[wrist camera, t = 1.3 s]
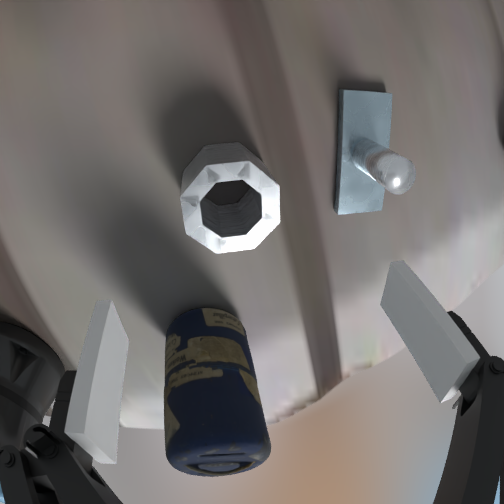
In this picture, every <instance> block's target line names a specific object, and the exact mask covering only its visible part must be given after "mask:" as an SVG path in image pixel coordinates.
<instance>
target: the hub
mask: <svg viewBox="0 0 504 504" xmlns="http://www.w3.org/2000/svg"><path fill="white" fill-rule="evenodd" d="M234 180H244V181H245V182H246V183H247V184H249V185H250V189H249V190H248V191H247V192H246V194H245V195H244V196H243V197H242V198H241V199H240V200H239V201H238V202H237V203H233V204H225V205H216V204H214V203H213V202H211V201H210V200H209V199H207V198H206V197H204V196H205V195H206V194H207V192H208V191H209V190H210V189H211V188H212V187H213V185H214V184H215V183H216V182H225V181H234ZM180 200H181V206H182V212H183V219H184V225H185V231H186V234H187V235H189V236H190V237H192V238H194V239H195V240H197V241H198V242H200V243H201V244H203V245H204V246H206V247H207V248H209V249H210V250H212V251H213V252H215V253H225V252H233V251H240V250H248V249H254V248H255V247H256V246H257V245H258V244H259V243H260V242H261V241H262V240H263V239H264V238H265V237H266V236H267V235H268V234H269V233H270V232H271V231H272V230H273V229H274V228H275V227H276V226H277V225H278V224H279V223H280V191H279V185H278V183H277V182H276V180H275V179H274V177H273V176H272V174H271V173H270V171H269V170H268V168H267V167H266V165H265V164H264V163H263V162H262V161H261V160H260V159H259V158H258V157H256V156H255V155H254V154H253V153H252V152H250V151H249V150H248V149H247V148H245V147H244V146H243V145H242V144H241V143H239V142H233V143H223V144H213V145H205V146H204V147H203V148H202V149H201V150H200V151H199V153H198V154H197V155H196V156H195V157H194V159H193V160H192V161H191V162H190V164H189V165H188V166H187V167H186V168H185V170H184V171H183V177H182V185H181V194H180Z"/></svg>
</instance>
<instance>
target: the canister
mask: <svg viewBox="0 0 504 504" xmlns="http://www.w3.org/2000/svg"><path fill="white" fill-rule="evenodd" d="M164 428H165V448H166V457H167V459H168V461H169V463H170V464H171V465H172V466H173V467H174V468H175V469H177V470H179V471H181V472H184V473H187V474H191V475H197V476H210V477H213V476H225V475H232V474H237V473H240V472H245V471H248V470H251V469H253V468H255V467H257V466H259V465H260V464H262V463H263V462H264V461H265V460H266V459H267V458H268V457H269V455H270V452H271V443H270V438H269V435H268V431H267V427H266V422H265V418H264V414H263V409H262V404H261V400H260V396H259V391H258V387H257V379H256V374H255V370H254V365H253V361H252V357H251V353H250V349H249V345H248V341H247V335H246V331H245V329H244V327H243V325H242V323H241V322H240V321H239V320H238V319H237V318H236V317H235V316H233V315H232V314H230V313H228V312H226V311H223V310H220V309H214V308H201V309H195V310H191V311H188V312H186V313H184V314H182V315H180V316H179V317H178V318H176V319H175V320H174V321H173V322H172V324H171V325H170V327H169V328H168V331H167V334H166V346H165V387H164Z"/></svg>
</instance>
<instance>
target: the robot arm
mask: <svg viewBox="0 0 504 504" xmlns="http://www.w3.org/2000/svg"><path fill="white" fill-rule="evenodd" d="M380 305H381V306H382V308H383V309H384V311H385V313H386V314H387V316H388V317H389V319H390V320H391V322H392V323H393V325H394V327H395V328H396V330H397V331H398V333H399V334H400V336H401V338H402V339H403V341H404V343H405V344H406V346H407V347H408V349H409V351H410V352H411V354H412V356H413V357H414V359H415V361H416V362H417V364H418V366H419V367H420V369H421V371H422V372H423V374H424V376H425V377H426V379H427V381H428V382H429V384H430V386H431V388H432V390H433V391H434V393H435V395H436V397H437V398H438V400H439V402H440V403H442V402H444V401H446V400H448V399H450V398H453V397H454V395H455V394H456V392H457V391H458V390H460V392H461V396H460V397H459V399H458V400H457V401H456V402H455V404H454V405H453V407H452V408H453V409H455V407H456V406H457V405H458V409H457V415H456V420H455V425H454V430H453V435H452V440H451V444H450V448H449V452H448V456H447V460H446V463H445V467H444V471H443V474H442V478H441V481H440V484H439V487H438V490H437V494H436V497H435V500H434V502H433V504H494V500H495V495H496V491H497V486H498V482H499V476H500V504H504V361H503V360H502V359H501V358H499V357H497V356H490V355H489V354H488V353H487V351H486V350H485V349H484V347H483V346H482V344H481V343H480V342H479V341H478V339H477V338H476V337H475V335H474V334H473V333H472V332H471V330H470V329H469V327H467V325H466V324H465V322H464V321H463V320H462V318H461V317H460V316H458V315H457V314H455V313H454V312H453V311H449V312H446V311H445V309H444V308H443V307H442V306H441V304H440V303H439V302H438V301H437V299H436V298H435V297H434V296H433V295H432V293H431V292H430V291H429V290H428V288H427V287H426V286H425V285H424V284H423V282H422V281H421V280H420V279H419V278H418V277H417V275H416V274H415V273H414V272H413V271H412V270H411V268H410V267H409V266H408V265H407V264H406V263H405V262H404V260H401V261H396V262H391V264H390V268H389V272H388V276H387V281H386V285H385V289H384V293H383V296H382V300H381V304H380ZM128 346H129V339H128V337H127V335H126V333H125V330H124V328H123V326H122V323H121V321H120V319H119V316H118V314H117V311H116V309H115V306H114V304H113V301H112V299H111V300H101V301H97V302H96V305H95V308H94V311H93V315H92V318H91V321H90V325H89V328H88V331H87V335H86V338H85V342H84V346H83V349H82V353H81V357H80V361H79V365H78V369H77V371H66V372H65V369H64V366H63V364H62V362H61V361H60V359H59V358H58V356H57V355H56V354H55V353H54V351H53V350H52V349H51V348H50V347H49V346H48V345H46V344H45V343H44V342H43V341H42V340H40V339H39V338H37V337H36V336H34V335H33V334H31V333H30V332H28V331H26V330H24V329H22V328H20V327H17V326H15V325H12V324H8V323H3V322H0V502H2V503H5V504H123V503H122V502H121V501H120V500H119V499H118V497H117V496H116V495H115V494H114V492H113V491H112V490H111V489H110V488H109V486H108V485H107V484H106V483H105V481H104V480H103V479H102V477H101V476H100V475H99V474H98V472H97V471H96V469H95V468H94V467H93V466H92V459H93V458H94V459H95V460H96V461H97V462H98V463H108V464H116V463H117V445H118V431H119V420H120V409H121V399H122V390H123V382H124V374H125V366H126V359H127V352H128ZM54 399H55V402H54V406H53V411H52V415H51V420H50V425H49V427H48V426H46V425H44V424H42V422H43V418H44V416H45V414H46V412H47V411H48V409H49V408H50V406H51V404H52V403H53V401H54Z"/></svg>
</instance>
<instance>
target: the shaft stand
mask: <svg viewBox="0 0 504 504" xmlns="http://www.w3.org/2000/svg"><path fill="white" fill-rule="evenodd" d="M391 110H392V94H391V93H387V92H377V91H364V90H349V89H339V124H338V154H337V175H336V192H335V206H334V211H335V212H336V213H337V214H338V215H340V214H350V213H360V212H371V211H382V204H383V197H384V189H385V188H386V189H387V190H388V191H390V192H391V193H393V194H403V193H405V192H406V191H408V190H409V189H410V188H411V186H412V185H413V183H414V181H415V177H416V170H415V167H414V165H413V163H412V162H411V161H410V160H408V159H406V158H405V157H403V156H401V155H399V154H397V153H395V152H394V151H392V150H390V149H389V140H390V127H391Z"/></svg>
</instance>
